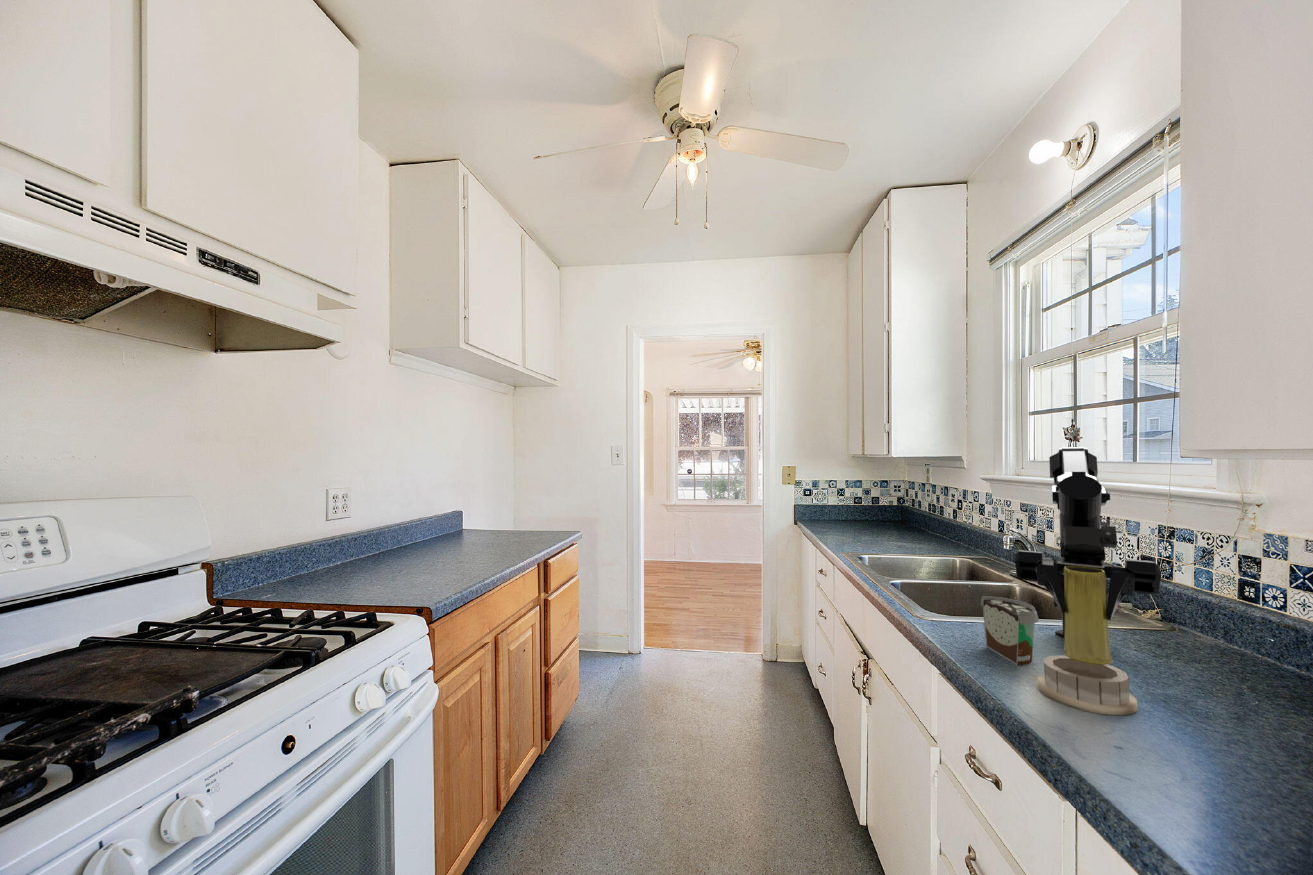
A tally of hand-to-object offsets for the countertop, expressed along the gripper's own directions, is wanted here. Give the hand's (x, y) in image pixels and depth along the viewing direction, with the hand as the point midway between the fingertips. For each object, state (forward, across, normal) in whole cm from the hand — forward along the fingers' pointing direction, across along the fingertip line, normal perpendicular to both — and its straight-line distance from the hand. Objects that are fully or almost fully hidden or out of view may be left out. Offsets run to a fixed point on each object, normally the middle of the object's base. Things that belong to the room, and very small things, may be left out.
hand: (1085, 615), depth 83 cm
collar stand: (+9, 0, +10) cm, 13 cm away
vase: (+4, 0, +6) cm, 7 cm away
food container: (-1, -10, +20) cm, 23 cm away
